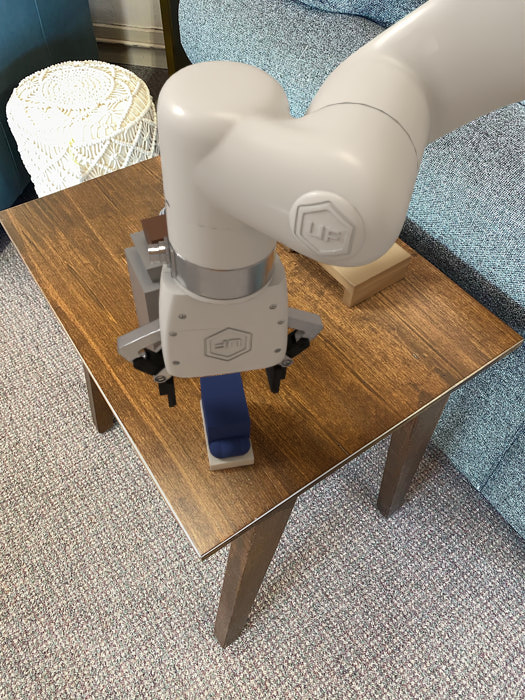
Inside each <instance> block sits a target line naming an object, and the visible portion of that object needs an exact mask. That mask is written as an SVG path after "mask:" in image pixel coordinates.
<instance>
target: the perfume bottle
mask: <svg viewBox="0 0 525 700" xmlns="http://www.w3.org/2000/svg"><path fill="white" fill-rule="evenodd" d="M140 224H141V228H142V230H140V231H136V232H132V233H129V236H130V239H131V241H132V243H133V245H134V246H129V247H126V248H123V250H124V255H125V260H126V265H127V271H128V276H129V281H130V287H131V291H132V297H133V303H134V307H135V312H136V319H137V321H138V328H139V327H142V326H144V325H146V324H148V323H150V322H152V321H154V320H157V319H159V290H160V279H161V272H162V267H163V264H162V265H161V263H151V264H150V259H149V251H148V245H149V244H159V243H158V242H159V241H164V237H168V233H167V218H166V214H162V215H159V214H158V215H155V216H150V217H146V218H142V219H140ZM160 344H161V341H159V342H157V343H155V344H153V345H150V346H148V347H146V348H147V349H149V350H152V351H154V350H155V349H156V348H157V347H158V346H159V345H160Z"/></svg>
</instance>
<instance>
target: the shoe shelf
mask: <svg viewBox="0 0 525 700" xmlns="http://www.w3.org/2000/svg"><path fill="white" fill-rule="evenodd" d="M282 247H283V249H285V250H286V252H288V253H289V254H290V253H292V252H294V250H292V249H291V248H289V247H287V246H285V245H283V244H282ZM411 259H412V254H410V253H409V252H408V251H406V250H405V249H404V248H403V247H402V246H401V245H399V244H398V243H397V242H395V243H394V245H393V246H392V247H391V248H390V249H389V250H388V252H387V253H385V254H384V255H383V256H382V257H380V258H379V259H377V260H376V261H374V262H372V263H369V264H367V265H363V266H359V267H338V266H332V265H328V264H324V263H321V262H319V261H316V260H314V261H315V262H316V263H317V264H318V265H319V266H321V268H323V269H324V271H326V272H327V273H328V274H329V275H330V276H331V277H332V278H334V279H335V280H336V281H337V282H338V283H339V284H340V285H342V287H343V288H344V290H343V295H342V298H341V302H342V303H343V304H344V305H345V306H346V307H347V308H348V309H351V308H353V307H355V306H356V305H357V304H361V302H364V301H365V300H367V299H369V298H371V297H372V296H374V295H376V294H377V293H380V292H382V291H383V290H385V289H387V288H389V287H390V286H392V285H394V284H396V283H398V282H399V281H402V280H403V279H405V277H406V275H407V272H408V268H409V265H410V262H411Z"/></svg>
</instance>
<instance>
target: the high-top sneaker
mask: <svg viewBox="0 0 525 700" xmlns="http://www.w3.org/2000/svg"><path fill="white" fill-rule="evenodd" d="M199 385H200V386H199V387H200V398H201V399H200V400H199V405H200V406H199V407H200V413H201V418H202V425H203V432H204V437H205V444H206V445H205V446H206V452H207V458H208V464H209V471H218V470H225V469H230V468H238V467H244V466H249V465H254V464H255V457H254V450H253V447H252V442H251V426H252V425H251V422H252V421H251V415H250V410H249V407H248V403H247V398H246V392H245V388H244V384H243V379H242V372H234V373H227V374H219V375H210V376H202V377H199Z"/></svg>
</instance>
